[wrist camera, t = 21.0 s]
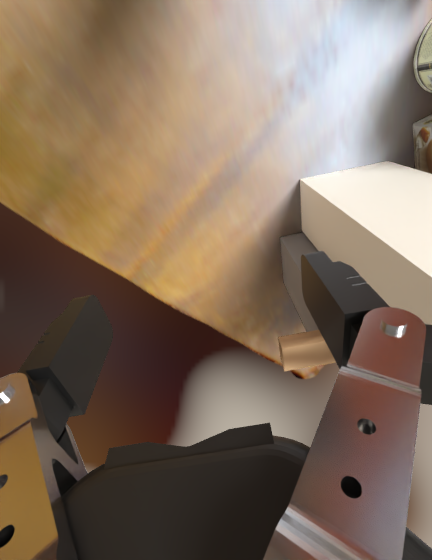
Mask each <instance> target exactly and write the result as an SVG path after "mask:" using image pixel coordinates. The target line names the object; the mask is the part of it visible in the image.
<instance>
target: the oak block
mask: <svg viewBox="0 0 432 560" xmlns="http://www.w3.org/2000/svg"><path fill="white" fill-rule="evenodd" d="M278 340H279V348H280V357H281V361H282V365H283V368H284V371H289V370H294V369H300V368H306V367H312V366H318V365H324V364H330V363H336V361H335V359H334V357H333V355H332V353H331V352H330V350H329V348H328V346H327V344H326V342H325V340H324V338H323V336H322V335H321V333H320V331H319V330H314V331H309V332H303V333H297V334H292V335H286V336H281V337H278Z"/></svg>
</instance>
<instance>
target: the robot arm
mask: <svg viewBox="0 0 432 560" xmlns="http://www.w3.org/2000/svg"><path fill="white" fill-rule="evenodd" d="M301 276H302V293H303V298H304V301H305V304H306V306H307V308H308V310H309V312H310V314H311V316H312V318H313V319H314V321H315V323H316V325H317V327H318V329H319V331H320V333H321V335H322V336H323V338H324V340H325V342H326V344H327V346H328V348H329V350H330V352H331V353H332V355H333V357H334V359H335V361H336V363H337V365H338V367H339V369H340V371H339V373H338V376H337V379H336V381H335V384H334V387H333V389H332V392H331V394H330V397H329V400H328V402H327V405H326V408H325V411H324V413H323V415H322V418H321V421H320V424H319V426H318V429H317V431H316V434H315V437H314V439H313V442H312V445H311V447H308V446H306V445H304V444H303V443H300V442H297V441H295V440H292V439H288V438H284V437H278V436H273V435H272V431H271V427H270V423H265V424H259V425H253V426H247V427H240V428H234V429H229V430H226V431H224V432H222V433H220V434H217V435H215V436H213V437H210V438H208V439H206V440H203V441H201V442H199V443H196V444H194V445H192V446H188V447H181V446H174V445H166V444H157V443H150V442H146V443H139V444H133V445H127V446H121V447H114V448H109V451H108V455H107V459H106V462H105V464H103V465H101V466H99V467H98V468H96V469H94V470H92V471H91V472H90V473H87V471H86V469H85V466H84V464H83V461H82V458H81V456H80V453H79V451H78V448H77V446H76V443H75V440H74V438H73V435H72V432H71V430H70V428H69V427H68V425H67V424H66V422H67V420H68V418H69V417H71V416H77V415H83V414H85V411H86V409H87V406H88V403H89V401H90V398H91V395H92V392H93V390H94V387H95V385H96V382H97V379H98V377H99V374H100V371H101V369H102V366H103V363H104V361H105V358H106V355H107V353H108V350H109V347H110V345H111V342H112V338H113V330H112V326H111V324H110V322H109V320H108V318H107V316H106V314H105V312H104V310H103V308H102V306H101V304H100V302H99V300H98V299H97V297H96V296H94V295H89V296H85V297H79V298H74V299H72V300H71V302H70V303H69V305H68V306H67V308H66V309H65V311H64V312H63V313H62V314H61V315H60V316H59V317H58V318H56V319H55V320H54V321H53V322H52V323H51V324H50V325H49V327H48V328H47V330H46V331H45V333H44V335H43V336H42V337H41V339H40V340H39V341H38V344H37V345H36V346H35V348H34V349H33V350H32V352H31V353H30V355H29V356H28V358H27V359H26V360H25V362H24V363H23V365H22V366H21V368H20V369H19V371H18V372H17V373H14V374H10V375H7V376H5V377H3V378H1V379H0V560H432V549H431V548H430V547H429V546H428V545H426V544H425V543H424V542H423V541H422V540H421V539H419V538H418V537H417V536H416V535H415V534H414V533H413V532H412V531H410V530H409V529H408V528H407V527H406V521H407V513H408V505H409V496H410V488H411V479H412V470H413V461H414V454H415V444H416V437H417V428H418V419H419V411H420V403H422V404H429V405H432V325H429V324H424V322H423V321H422V320H421V319H420V318H419V317H418V316H416V315H415V314H413V313H411V312H409V311H406V310H403V309H399V308H394V307H390V306H389V305H388V304H387V303H386V302H385V301H384V300H383V299H382V298H381V297H380V296H379V295H378V294H377V292H376V291H375V290H374V289H373V288H372V287H371V286H370V285H369V284H367V283H366V281H365V280H364V279H363V278H362V277H360V274H359V273H358V272H357V271H356V270H355V269H354V268H353V267H352V266H350V265H348V264H345V263H343V262H341V261H337V262H332V261H331V259H330V258H329V257H328V256H327V255H326V253H325V252H324V251H318V252H313V253H308V254H303V255H302V256H301Z"/></svg>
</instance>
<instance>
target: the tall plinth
mask: <svg viewBox="0 0 432 560" xmlns="http://www.w3.org/2000/svg"><path fill="white" fill-rule="evenodd" d="M300 196H301V223H302V231H303V232H304V234H305V235H306V236H307V237H308V239H309V240H310V241H311V242H312V243H313V245H314V246H315V247H316V248H317V250H318V251H324V252H325V253H326V255H327V256H328V257H329V258H330V259H331V261H332V262H337V261H341V262H343V263H345V264H348V265H350V266H352V267H353V268H354V269H355V270H356V271H357V272H358V273H359V274H360V277H362V278H363V279H364V280H365V281H366V283H367V284H369V285H370V286H371V287H372V288H373V289H374V290H375V291H376V292H377V294H378V295H379V296H380V297H381V298H382V299H383V300H384V301H385V302H386V303H387V304H388V305H389V306H390V307H394V308H399V309H403V310H406V311H409V312H411V313H413V314H415V315H416V316H418V317H419V318H420V319H421V320H422V321H423V322H424V324H429V325H432V174H430V173H427V172H423V171H420V170H417V169H413V168H410V167H407V166H403V165H400V164H396V163H393V162H390V161H384V162H379V163H375V164H370V165H365V166H360V167H356V168H351V169H346V170H341V171H337V172H332V173H327V174H322V175H318V176H313V177H308V178H304V179H300Z"/></svg>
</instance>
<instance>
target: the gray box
mask: <svg viewBox="0 0 432 560" xmlns="http://www.w3.org/2000/svg"><path fill="white" fill-rule="evenodd" d="M280 245H281V257H282V269H283V281H284V285H285V287H286V289H287V291H288V293H289V295H290V297H291V300H292V302H293V304H294V306H295V308H296V310H297V312H298V315H299V317H300V319H301V321H302V323H303V325H304V327H305V329H306V332H309V331H314V330H319V329H318V327H317V325H316V323H315V321H314V319H313V318H312V316H311V314H310V312H309V310H308V308H307V306H306V304H305V301H304V298H303V293H302V276H301V256H302V255H303V254H308V253H313V252H318V250H317V248H316V247H315V246H314V245H313V243H312V242H311V241H310V240H309V239H308V237H307V236H306V235H305V234H304V232H303V233H298V234H293V235H288V236H283V237H280Z"/></svg>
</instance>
